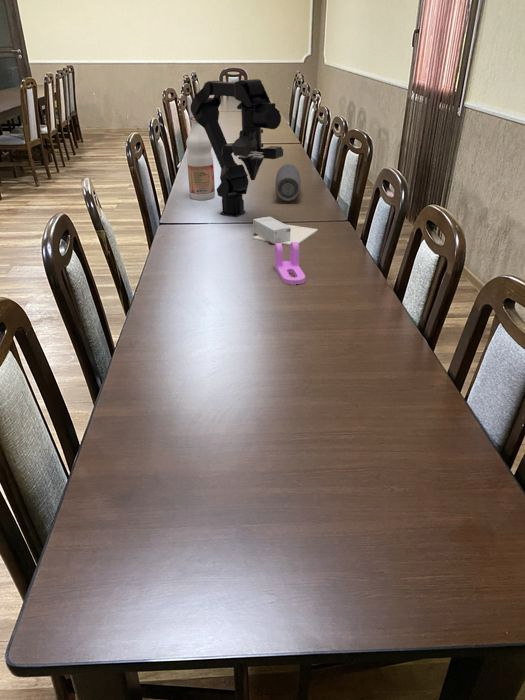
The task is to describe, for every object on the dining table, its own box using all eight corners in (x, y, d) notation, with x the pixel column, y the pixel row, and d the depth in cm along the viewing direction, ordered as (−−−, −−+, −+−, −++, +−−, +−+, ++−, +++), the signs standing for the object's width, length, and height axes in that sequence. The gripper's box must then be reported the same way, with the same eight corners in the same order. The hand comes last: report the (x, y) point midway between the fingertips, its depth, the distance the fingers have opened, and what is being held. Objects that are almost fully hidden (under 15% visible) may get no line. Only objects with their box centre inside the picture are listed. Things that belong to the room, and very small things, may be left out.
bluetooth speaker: (301, 204, 191) (301, 175, 186) (274, 204, 192) (275, 175, 186) (299, 188, 211) (300, 162, 206) (276, 188, 211) (276, 162, 206)
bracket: (274, 266, 140) (274, 241, 137) (295, 265, 141) (295, 239, 138) (285, 286, 129) (285, 259, 126) (307, 284, 130) (308, 257, 127)
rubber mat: (252, 238, 159) (252, 237, 159) (277, 224, 171) (277, 223, 171) (295, 246, 153) (295, 244, 153) (317, 230, 165) (317, 229, 165)
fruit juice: (184, 197, 201) (178, 116, 187) (204, 192, 206) (199, 113, 192) (200, 202, 195) (195, 118, 181) (220, 197, 200) (216, 116, 186)
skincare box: (252, 232, 163) (272, 245, 154) (252, 217, 161) (272, 230, 152) (270, 229, 165) (290, 241, 157) (270, 214, 163) (291, 226, 154)
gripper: (210, 128, 158) (213, 182, 166) (266, 131, 150) (267, 188, 158) (230, 123, 167) (232, 175, 174) (284, 126, 159) (284, 180, 166)
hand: (252, 180), depth 168 cm, fingers closed
